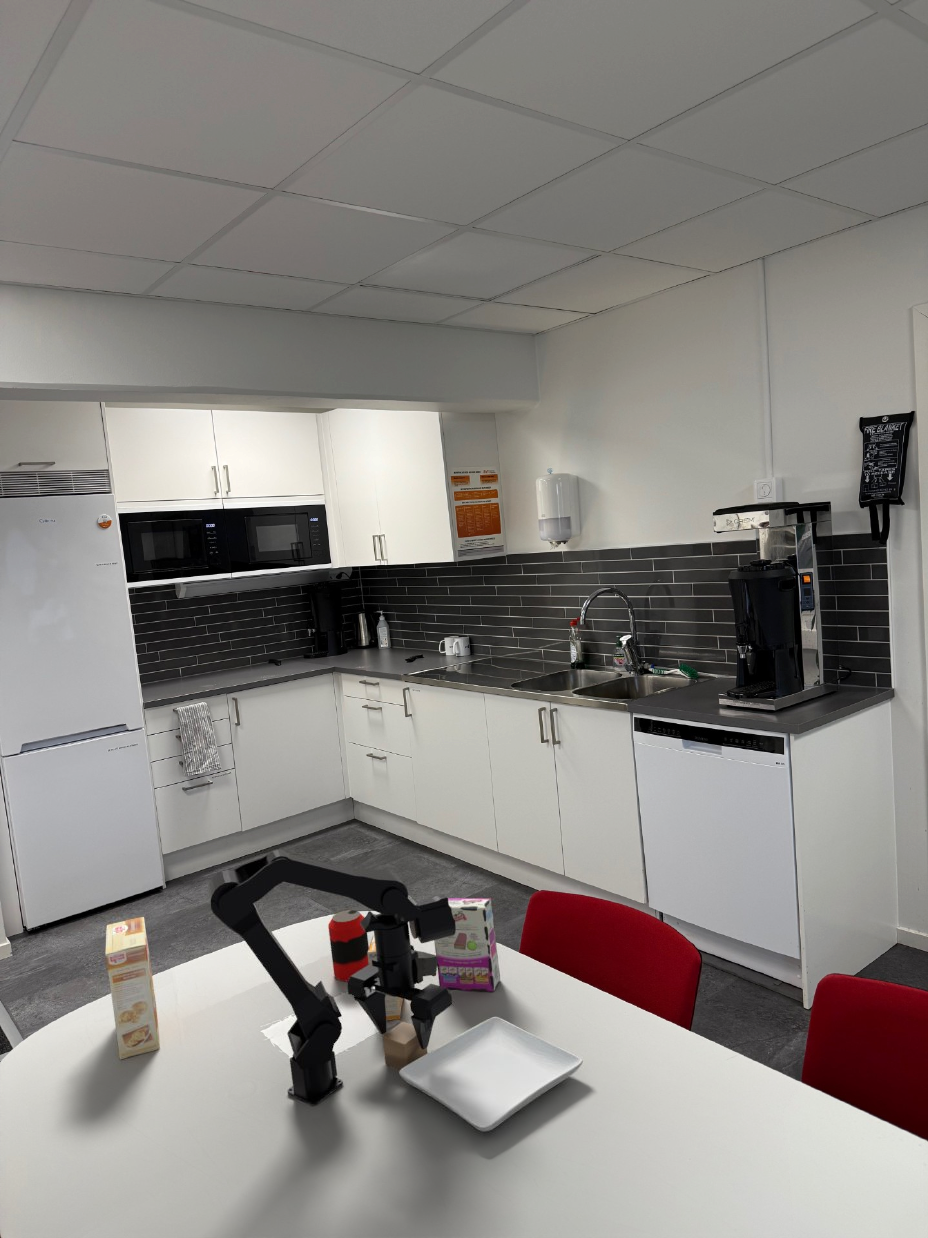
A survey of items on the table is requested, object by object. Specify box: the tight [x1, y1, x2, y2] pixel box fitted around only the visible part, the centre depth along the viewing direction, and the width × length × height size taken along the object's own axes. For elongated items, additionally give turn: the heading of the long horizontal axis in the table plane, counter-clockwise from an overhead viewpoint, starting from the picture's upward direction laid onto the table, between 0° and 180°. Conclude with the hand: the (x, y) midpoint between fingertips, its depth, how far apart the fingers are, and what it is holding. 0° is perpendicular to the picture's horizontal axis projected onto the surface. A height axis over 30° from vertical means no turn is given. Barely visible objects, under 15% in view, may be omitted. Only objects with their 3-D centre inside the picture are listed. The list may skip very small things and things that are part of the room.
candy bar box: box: [433, 897, 501, 992], centre depth 166 cm, size 11×5×16 cm, turn 73°
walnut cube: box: [381, 1021, 429, 1071], centre depth 143 cm, size 5×5×5 cm
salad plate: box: [398, 1016, 584, 1132], centre depth 134 cm, size 21×21×3 cm
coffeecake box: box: [105, 916, 161, 1061], centre depth 160 cm, size 15×7×20 cm, turn 22°
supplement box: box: [368, 933, 404, 1021], centre depth 160 cm, size 8×5×13 cm, turn 179°
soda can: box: [327, 909, 370, 982], centre depth 176 cm, size 8×8×12 cm
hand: (403, 1040), depth 143 cm, fingers open, 9 cm apart
